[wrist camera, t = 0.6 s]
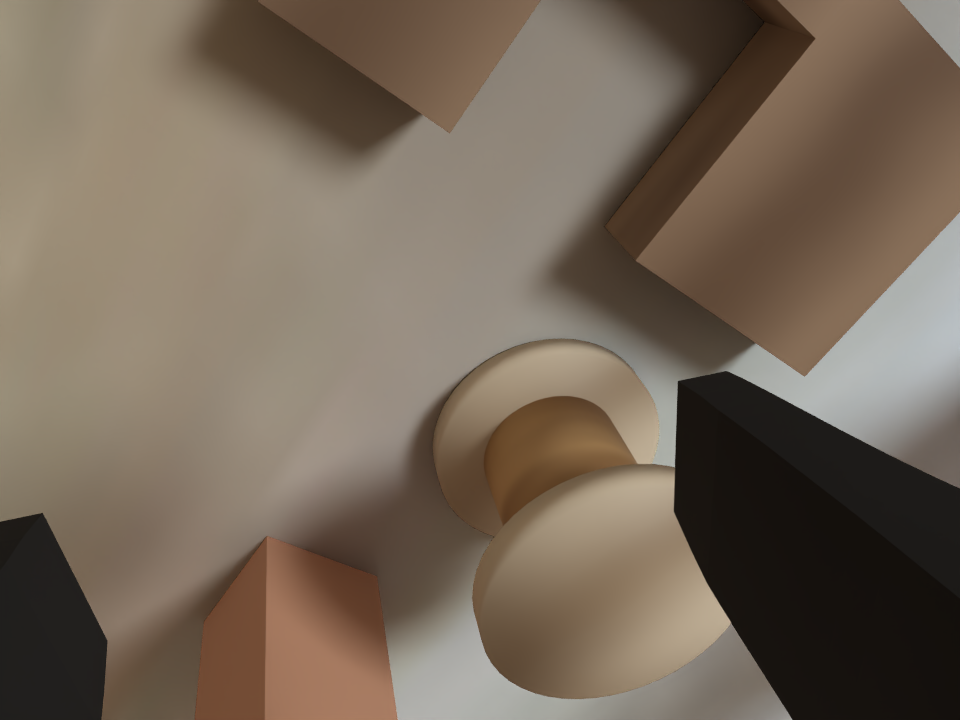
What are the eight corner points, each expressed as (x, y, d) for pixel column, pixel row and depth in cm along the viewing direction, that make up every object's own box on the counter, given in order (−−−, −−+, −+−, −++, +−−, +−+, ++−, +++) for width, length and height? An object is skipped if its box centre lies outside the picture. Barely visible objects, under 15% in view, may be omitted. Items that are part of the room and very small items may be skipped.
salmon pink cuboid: (377, 575, 24) (404, 767, 19) (312, 655, 25) (323, 856, 20) (267, 535, 22) (264, 732, 17) (204, 621, 23) (184, 831, 18)
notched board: (963, 118, 20) (1025, 141, 18) (764, 338, 22) (804, 376, 21) (477, -400, 13) (506, -438, 12) (259, -14, 16) (257, 1, 14)
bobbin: (690, 399, 23) (809, 550, 18) (557, 547, 25) (629, 723, 20) (524, 298, 20) (608, 444, 15) (388, 474, 22) (422, 656, 17)
